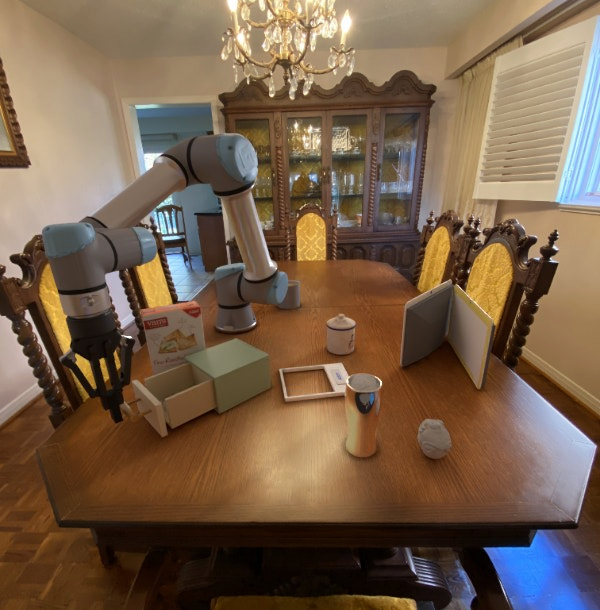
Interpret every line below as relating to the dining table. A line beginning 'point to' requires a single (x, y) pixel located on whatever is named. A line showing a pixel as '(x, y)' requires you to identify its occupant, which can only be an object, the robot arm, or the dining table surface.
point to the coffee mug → (291, 296)
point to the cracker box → (173, 334)
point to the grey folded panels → (462, 329)
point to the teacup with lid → (340, 335)
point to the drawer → (172, 397)
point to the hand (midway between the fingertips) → (117, 419)
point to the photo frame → (334, 374)
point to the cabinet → (234, 371)
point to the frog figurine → (434, 438)
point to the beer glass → (362, 413)
